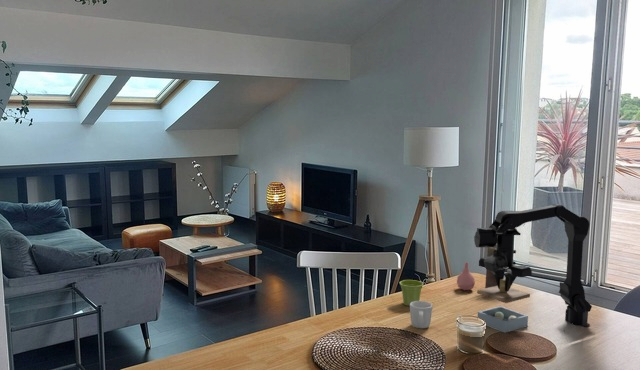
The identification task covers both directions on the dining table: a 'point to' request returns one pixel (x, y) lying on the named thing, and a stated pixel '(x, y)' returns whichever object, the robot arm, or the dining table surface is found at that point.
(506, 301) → the lid
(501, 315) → the ball sage
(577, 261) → the robot arm
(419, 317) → the cup
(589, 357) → the dining table surface
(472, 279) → the pink teardrop shape
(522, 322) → the box
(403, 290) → the plant pot
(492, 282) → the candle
